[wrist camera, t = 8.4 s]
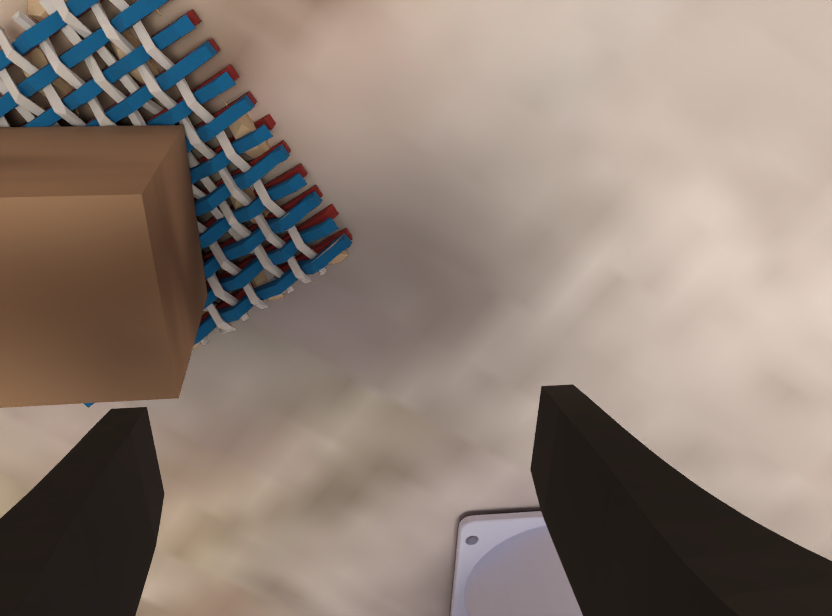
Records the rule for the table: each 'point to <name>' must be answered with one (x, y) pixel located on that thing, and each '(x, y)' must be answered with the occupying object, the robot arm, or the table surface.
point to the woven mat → (247, 139)
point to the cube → (97, 264)
